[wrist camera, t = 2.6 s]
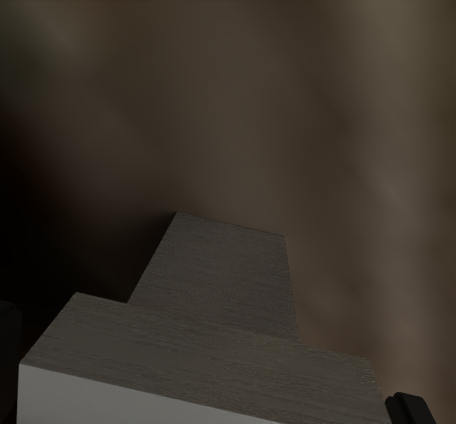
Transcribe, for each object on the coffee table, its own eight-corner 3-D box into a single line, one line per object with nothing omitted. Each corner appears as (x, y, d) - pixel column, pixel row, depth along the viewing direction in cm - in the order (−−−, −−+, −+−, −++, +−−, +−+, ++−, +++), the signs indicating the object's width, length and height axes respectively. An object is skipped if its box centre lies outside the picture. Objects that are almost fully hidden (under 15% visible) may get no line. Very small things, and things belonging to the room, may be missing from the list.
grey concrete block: (188, 151, 12) (18, 363, 4) (302, 177, 12) (402, 451, 4) (146, 380, 15) (1, 784, 7) (235, 400, 15) (205, 828, 7)
